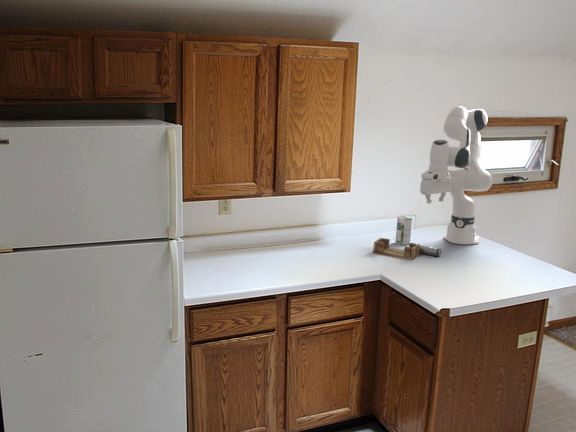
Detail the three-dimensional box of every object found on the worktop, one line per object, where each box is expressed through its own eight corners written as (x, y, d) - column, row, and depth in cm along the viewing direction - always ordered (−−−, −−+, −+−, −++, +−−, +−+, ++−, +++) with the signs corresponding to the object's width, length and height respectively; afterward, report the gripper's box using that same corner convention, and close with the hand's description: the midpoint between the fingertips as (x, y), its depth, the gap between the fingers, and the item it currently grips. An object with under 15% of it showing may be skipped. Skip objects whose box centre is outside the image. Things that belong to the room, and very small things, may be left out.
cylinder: (413, 250, 294) (413, 243, 293) (440, 255, 287) (441, 247, 286) (410, 252, 291) (411, 245, 290) (438, 257, 284) (438, 249, 283)
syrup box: (394, 242, 308) (396, 215, 305) (404, 241, 311) (406, 215, 307) (401, 245, 303) (403, 218, 300) (410, 244, 306) (412, 217, 302)
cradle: (380, 248, 297) (381, 237, 296) (419, 254, 288) (420, 244, 286) (373, 252, 289) (373, 242, 288) (412, 260, 279) (413, 249, 278)
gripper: (445, 171, 288) (442, 199, 291) (419, 174, 275) (416, 203, 278) (456, 173, 283) (453, 201, 286) (429, 176, 271) (427, 205, 274)
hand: (435, 202), depth 282 cm, fingers open, 8 cm apart
